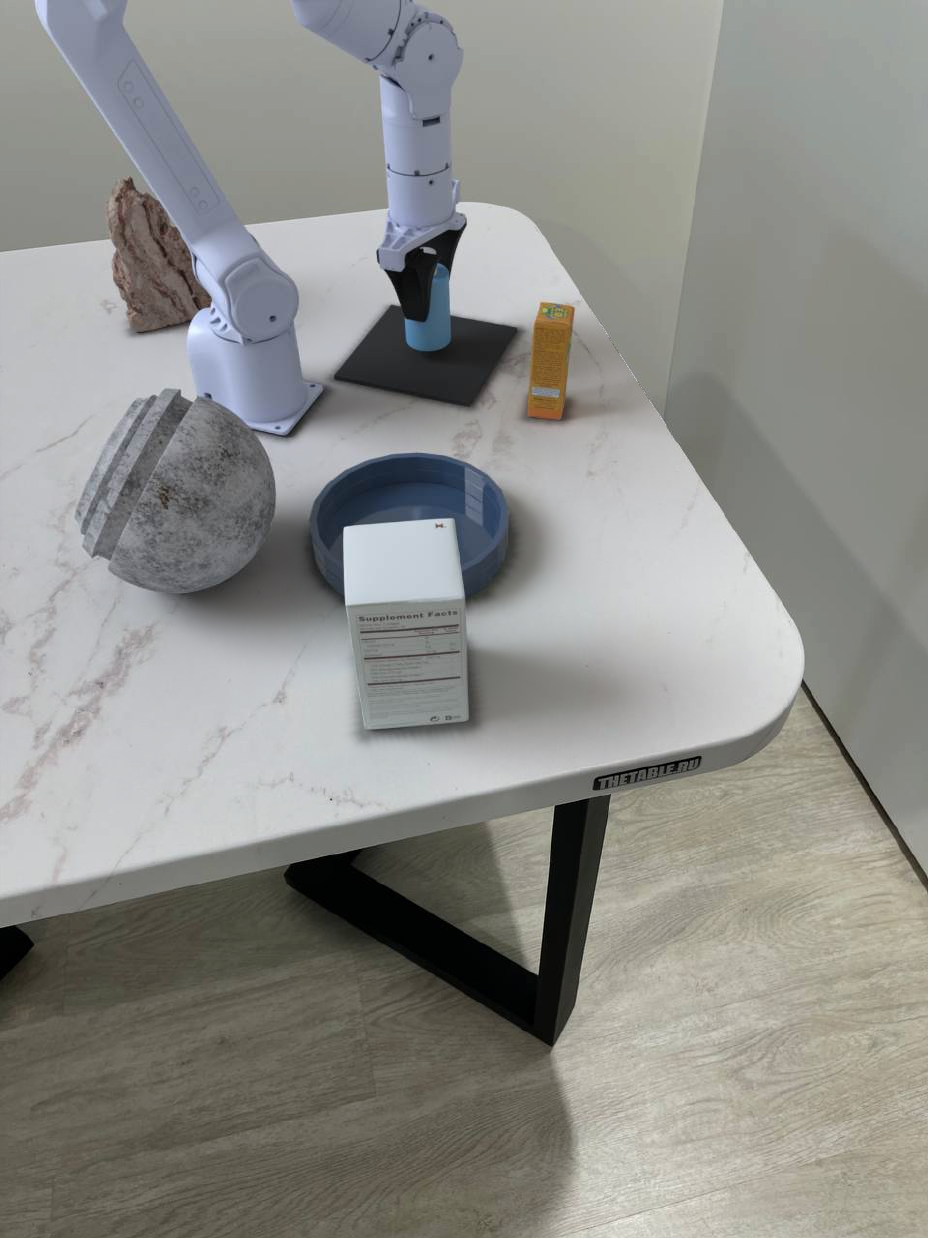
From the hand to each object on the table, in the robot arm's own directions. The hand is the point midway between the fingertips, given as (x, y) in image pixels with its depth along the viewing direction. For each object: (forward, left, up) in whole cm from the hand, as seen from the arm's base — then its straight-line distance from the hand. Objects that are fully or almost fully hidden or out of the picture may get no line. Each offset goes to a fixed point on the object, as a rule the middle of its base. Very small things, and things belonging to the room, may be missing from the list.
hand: (425, 306), depth 97 cm
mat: (0, 0, -5) cm, 5 cm away
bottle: (0, 0, -4) cm, 4 cm away
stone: (-29, -1, -6) cm, 30 cm away
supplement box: (+14, -5, -6) cm, 16 cm away
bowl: (+9, -26, -5) cm, 28 cm away
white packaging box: (+15, -40, -6) cm, 43 cm away
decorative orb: (-6, -34, -6) cm, 35 cm away
